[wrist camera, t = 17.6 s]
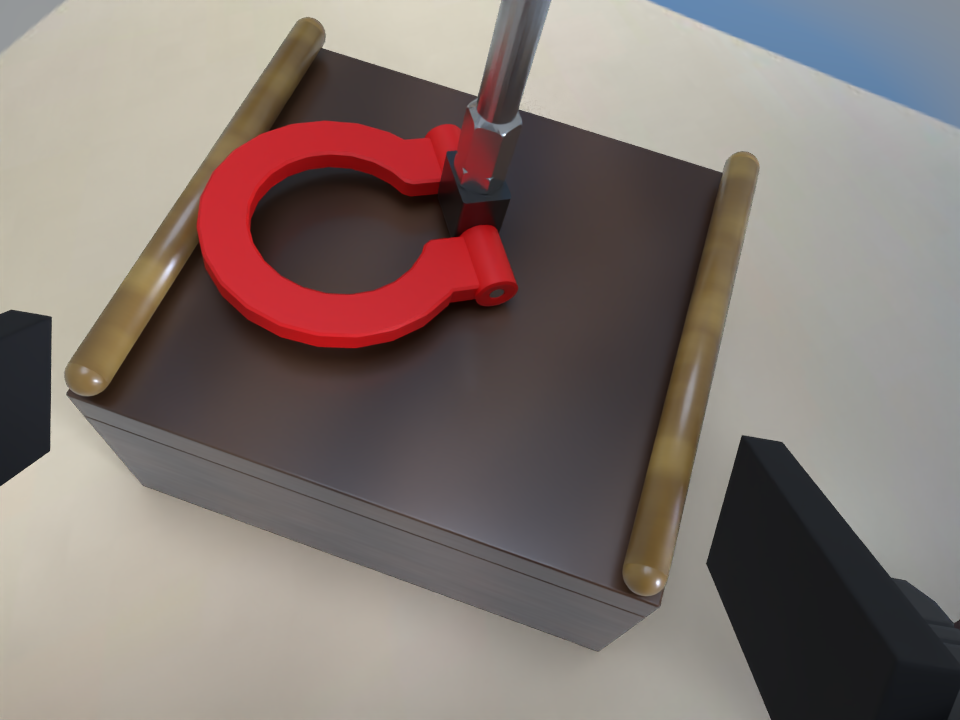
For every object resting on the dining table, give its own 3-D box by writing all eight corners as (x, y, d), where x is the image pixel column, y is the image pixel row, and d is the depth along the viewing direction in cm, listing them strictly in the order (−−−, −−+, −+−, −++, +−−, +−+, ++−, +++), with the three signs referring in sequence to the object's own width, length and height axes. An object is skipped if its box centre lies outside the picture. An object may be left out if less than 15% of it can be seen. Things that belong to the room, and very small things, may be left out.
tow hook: (221, 377, 23) (523, 329, 26) (150, -29, 12) (688, -37, 15) (184, 154, 27) (453, 133, 30) (105, -313, 16) (544, -278, 19)
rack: (140, 487, 31) (42, 373, 22) (318, 176, 38) (293, 4, 30) (598, 654, 29) (675, 600, 21) (689, 297, 37) (773, 151, 28)
